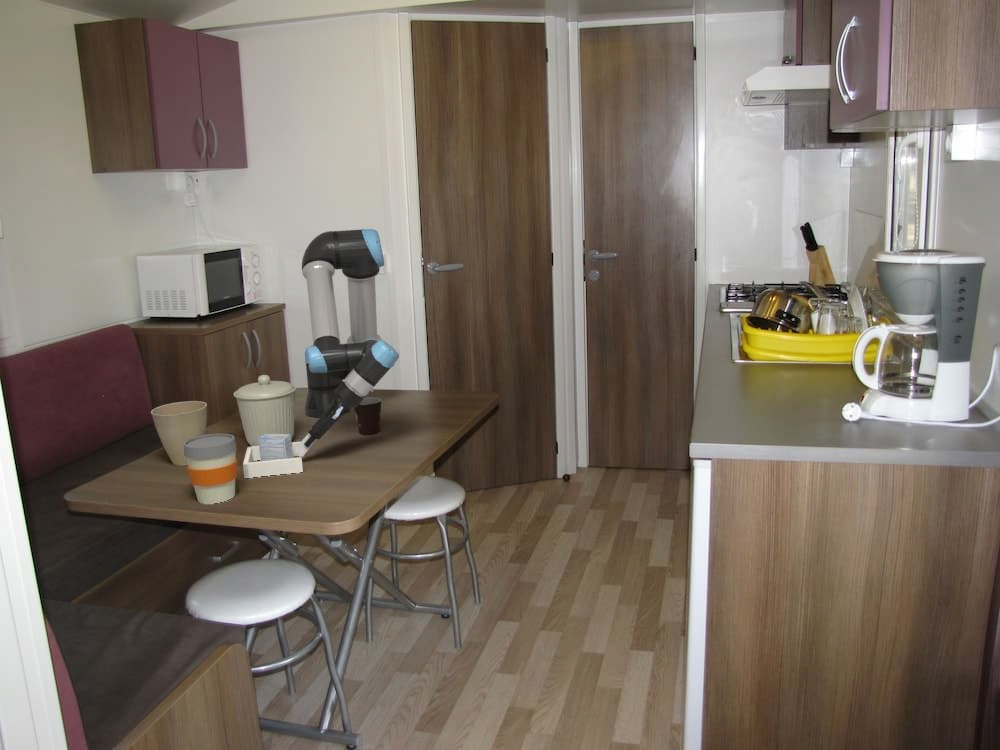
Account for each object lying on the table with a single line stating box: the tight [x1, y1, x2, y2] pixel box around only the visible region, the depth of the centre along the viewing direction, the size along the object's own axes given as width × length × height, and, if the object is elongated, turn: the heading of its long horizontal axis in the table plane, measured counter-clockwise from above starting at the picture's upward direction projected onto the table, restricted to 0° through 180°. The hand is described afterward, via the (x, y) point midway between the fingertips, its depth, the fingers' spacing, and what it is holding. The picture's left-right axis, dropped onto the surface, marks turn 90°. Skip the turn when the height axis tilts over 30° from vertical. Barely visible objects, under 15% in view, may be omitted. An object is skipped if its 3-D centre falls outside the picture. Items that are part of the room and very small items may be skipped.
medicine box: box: [258, 434, 294, 461], centre depth 250 cm, size 8×4×9 cm, turn 77°
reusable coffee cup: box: [184, 432, 238, 505], centre depth 226 cm, size 13×13×15 cm
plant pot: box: [150, 400, 208, 467], centre depth 256 cm, size 15×15×16 cm
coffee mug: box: [353, 396, 382, 436], centre depth 279 cm, size 12×9×10 cm
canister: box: [233, 374, 297, 447], centre depth 269 cm, size 18×18×21 cm
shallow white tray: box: [242, 441, 305, 479], centre depth 250 cm, size 16×15×4 cm
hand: (298, 453), depth 251 cm, fingers closed
